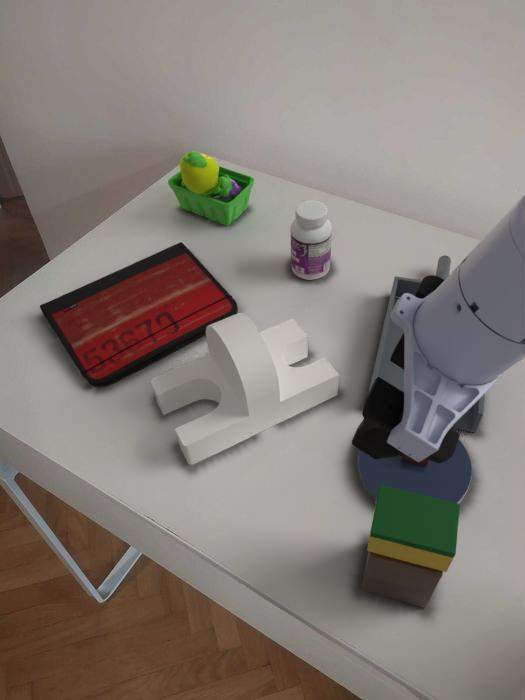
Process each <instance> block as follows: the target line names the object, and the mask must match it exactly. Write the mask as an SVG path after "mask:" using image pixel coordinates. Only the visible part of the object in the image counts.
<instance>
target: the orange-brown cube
mask: <svg viewBox="0 0 525 700" xmlns="http://www.w3.org/2000/svg"><path fill="white" fill-rule="evenodd" d="M402 461H405V462H410V463H414V464H418V465H423V466H427V465H428V462H429V460H426V459H423V460H422V461H420V462H417V461H415V460H414V459H412V458H411V457H409V456H402Z"/></svg>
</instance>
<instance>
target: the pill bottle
mask: <svg viewBox="0 0 525 700" xmlns="http://www.w3.org/2000/svg"><path fill="white" fill-rule="evenodd" d="M328 212H329V211H328V206H327V205H326V204H325V203H324V202H321V201H319V200H315V199H314V200H313V199H312V200H311V199H309V200H305V201H302V202H300V203H299V204H298V205H297V206H296V208H295V217H294V219H293V220H292V222H291V224H290V265H291V267H290V268H291V271H292V273H293V274H294V275H295V276H297V277H298V278H300V279H303V280H308V281H311V280H317V279H321V278H323V277H324V276H326V275H327V274H328V273H329V271H330V268H331V258H332V241H333V240H332V239H333V238H332V237H333V226H332V223H331V221H330V219H329V218H328V217H329V216H328V214H329V213H328Z"/></svg>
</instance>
